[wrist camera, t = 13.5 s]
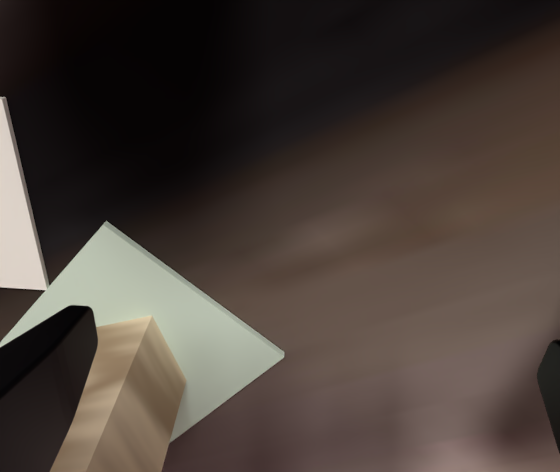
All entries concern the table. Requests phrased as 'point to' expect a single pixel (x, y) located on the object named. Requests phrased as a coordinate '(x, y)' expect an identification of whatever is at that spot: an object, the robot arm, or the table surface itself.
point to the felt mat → (160, 319)
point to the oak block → (125, 403)
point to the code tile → (17, 218)
